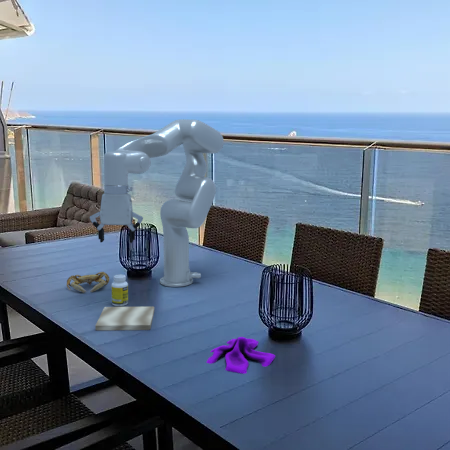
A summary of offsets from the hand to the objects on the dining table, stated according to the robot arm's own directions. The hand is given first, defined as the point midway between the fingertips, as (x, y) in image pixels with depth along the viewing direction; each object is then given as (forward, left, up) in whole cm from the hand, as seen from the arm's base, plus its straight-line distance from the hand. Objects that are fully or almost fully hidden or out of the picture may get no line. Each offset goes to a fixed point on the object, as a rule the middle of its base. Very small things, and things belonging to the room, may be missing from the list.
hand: (116, 241), depth 177 cm
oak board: (-5, +16, -21) cm, 27 cm away
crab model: (+13, -17, -22) cm, 31 cm away
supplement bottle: (-1, +1, -22) cm, 22 cm away
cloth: (-37, +43, -22) cm, 60 cm away
